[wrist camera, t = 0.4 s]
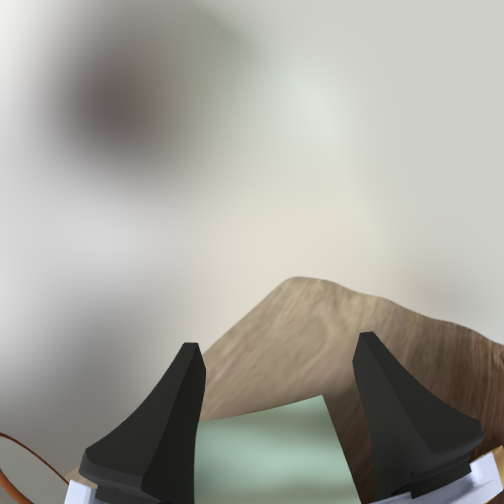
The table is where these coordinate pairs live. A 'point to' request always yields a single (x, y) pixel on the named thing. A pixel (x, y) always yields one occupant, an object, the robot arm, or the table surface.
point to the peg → (498, 463)
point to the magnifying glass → (29, 475)
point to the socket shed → (273, 458)
